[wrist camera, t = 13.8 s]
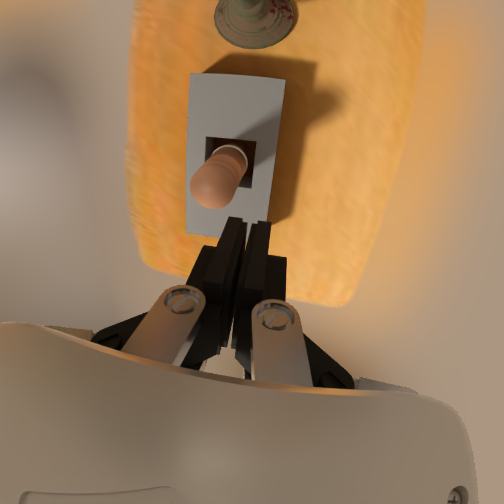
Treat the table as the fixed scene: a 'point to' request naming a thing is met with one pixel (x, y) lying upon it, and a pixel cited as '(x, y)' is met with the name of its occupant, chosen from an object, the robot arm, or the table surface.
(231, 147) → the dowel
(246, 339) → the robot arm
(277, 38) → the candlestick holder
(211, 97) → the seat board
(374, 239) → the table surface
